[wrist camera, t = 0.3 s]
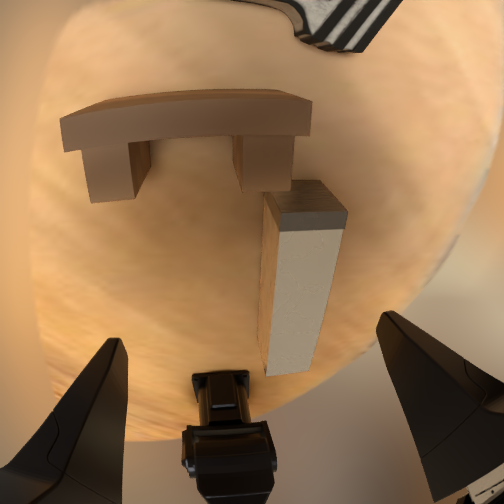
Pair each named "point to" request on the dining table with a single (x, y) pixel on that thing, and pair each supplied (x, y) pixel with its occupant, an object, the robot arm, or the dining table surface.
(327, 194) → the rail
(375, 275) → the dining table surface
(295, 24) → the handgun
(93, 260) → the dining table surface
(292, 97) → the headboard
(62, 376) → the dining table surface
